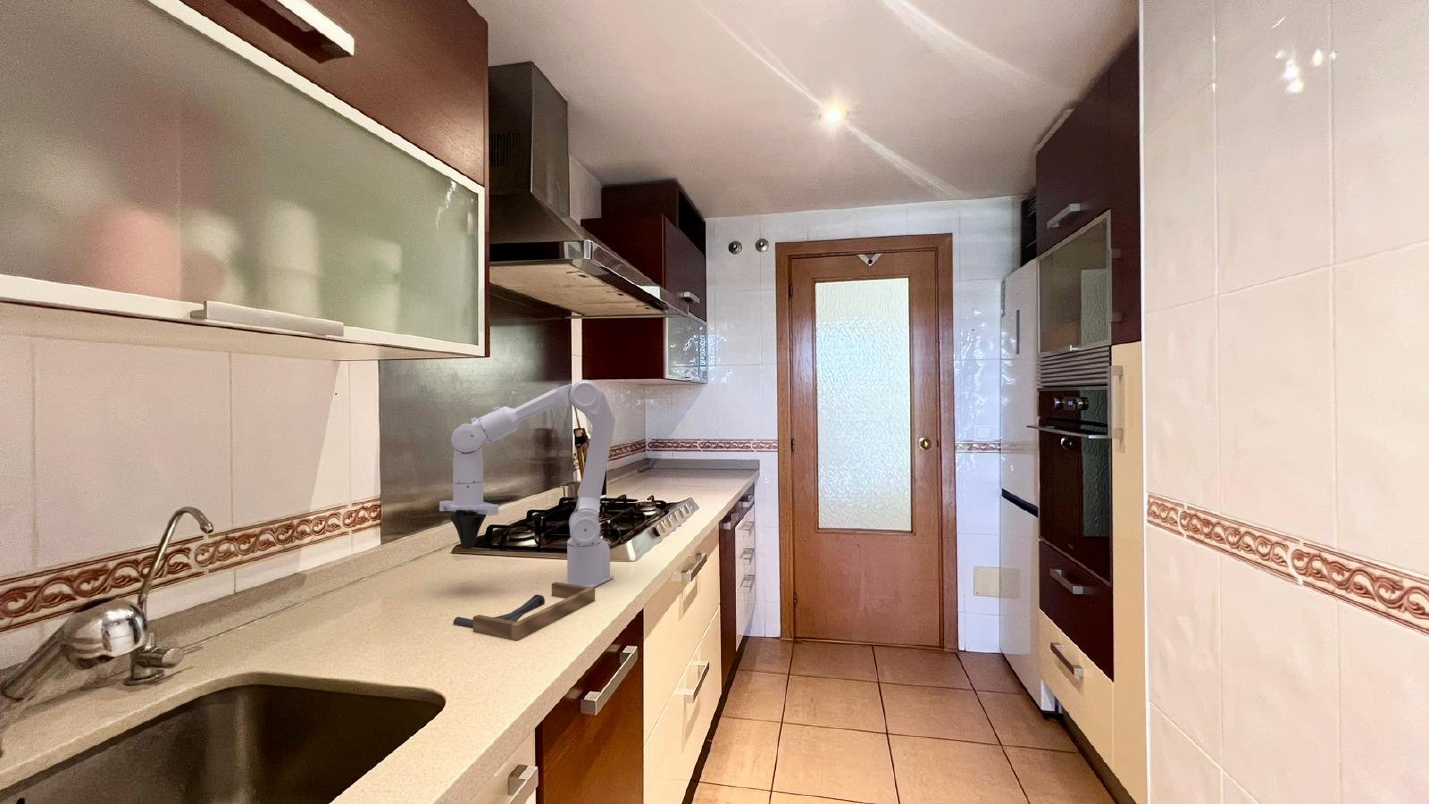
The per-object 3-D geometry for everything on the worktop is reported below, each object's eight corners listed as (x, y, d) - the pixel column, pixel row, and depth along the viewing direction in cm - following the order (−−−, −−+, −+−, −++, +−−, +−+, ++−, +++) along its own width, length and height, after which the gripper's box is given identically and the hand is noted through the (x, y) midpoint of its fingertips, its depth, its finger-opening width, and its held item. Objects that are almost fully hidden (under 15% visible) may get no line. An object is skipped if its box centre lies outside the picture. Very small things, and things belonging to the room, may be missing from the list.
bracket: (572, 612, 109) (572, 597, 109) (516, 641, 96) (516, 624, 96) (513, 602, 115) (513, 588, 115) (453, 628, 101) (453, 612, 101)
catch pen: (555, 594, 118) (555, 581, 118) (595, 600, 114) (595, 587, 114) (473, 631, 98) (473, 616, 98) (517, 640, 94) (517, 625, 94)
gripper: (426, 482, 118) (426, 548, 118) (479, 486, 112) (479, 555, 112) (455, 478, 124) (455, 541, 124) (506, 481, 119) (506, 547, 118)
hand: (468, 547), depth 119 cm, fingers closed
